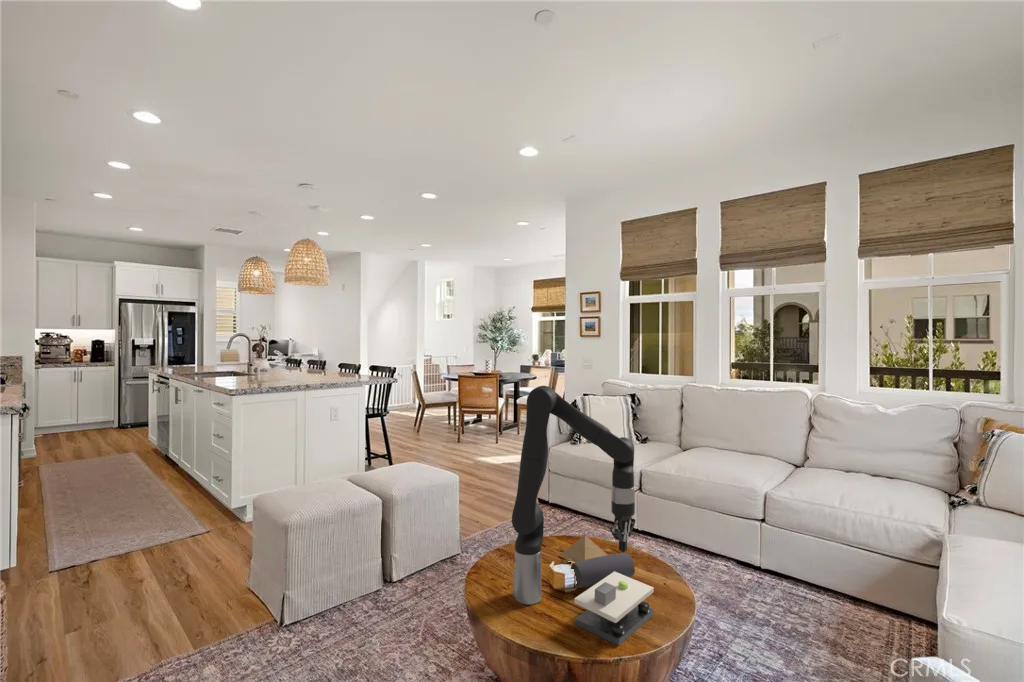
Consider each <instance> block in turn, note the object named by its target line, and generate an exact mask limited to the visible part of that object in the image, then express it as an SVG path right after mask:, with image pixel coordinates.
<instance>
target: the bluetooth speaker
mask: <svg viewBox="0 0 1024 682" xmlns="http://www.w3.org/2000/svg"><path fill="white" fill-rule="evenodd" d="M570 565H571V564H570ZM570 569H574V572H575V576H576V581H577V584H576V586H575V587H576V588H578V589H579V588H588V587H589V588H591V587H592V586H594V585H595V584H597V583H598V582H600V581H601V580H602V579H604V578H605V577H607V576H608V575H610V574H611V573H613V572H614V571H615V572H617V573H620V574H622V575H624V576H627V577H629V578H631V577H634V575H635V574H636V568H635V563H634V560H633V557H632V556H631V554H629V553H627V552H620V553H613V554H607V555H606V556H600V557H595V558H591V559H586V560H582V561H578V562H575V563H573V564H572V565H571V566H570Z"/></svg>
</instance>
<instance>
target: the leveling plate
mask: <svg viewBox="0 0 1024 682" xmlns="http://www.w3.org/2000/svg"><path fill="white" fill-rule="evenodd" d="M654 589H655V588H654V587H653V586H650V585H649V584H646V583H644V582H641V581H639V580H636V579H635V578H631V577H627V576H624V575H622V574H620V573H617V572H615V571H614V572H613V573H611V574H610V575H608V576H607V577H605V578H604V579H602V580H601V581H600V582H598V583H597V584H595V585H594V586H592V587H589V588H588V589H586V590H585V591H583V592H582V593H580V594H579V595H577V596H576V597H575V598H574V604H575V605H578V606H580V607H582V608H583V609H586V610H587V609H588V610H590V611H592V612H594V613H596V614H598V615H600V616H602V617H604V618H606V619H608V620H610V621H612V622H614V623H617V622H618V621H619V620H620V619H621V618H623V617H624V616H625V615H626V614H627V613H629V612H630V611H631V610H632V609H634V608H635V607H636V606H637V605H638V604H640V603H641V602H644V600H646V599H647V598H648V597H650V595H652V594H653V593H654Z"/></svg>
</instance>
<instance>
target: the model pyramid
mask: <svg viewBox="0 0 1024 682" xmlns="http://www.w3.org/2000/svg"><path fill="white" fill-rule="evenodd" d="M606 555H608V553H606V552H605V551H604V550H603V549H602V548H600V546H599V545H597V544H596V543H595V542H594V541H592V540H591V539H590V538H589V537H588V535H586V534H584V535H582V537H580V538H579V539H578V540H577V541H575V542H574V543H572V544H571V545H570V546H568V547H567V548H566V549H565V550H563V551H562V552H561V553H560V554H558V555H557V557H558V556H561V557H563V558H565V559H566V560H567V561H574V562H578V561H582V560H586V559H591V558H595V557H600V556H606ZM566 560H565V561H566ZM567 561H566V562H567Z"/></svg>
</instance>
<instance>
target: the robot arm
mask: <svg viewBox="0 0 1024 682" xmlns="http://www.w3.org/2000/svg"><path fill="white" fill-rule="evenodd" d="M550 415H553V416H555V417H556V418H559V419H560V420H562V421H563V422H564V423H566V424H567V425H568V426H569V427H570V428H571V429H572V430H574V432H575V433H577V435H580V436H581V437H582V438H584V439H585V440H587V441H588V442H590V443H591V444H593V445H595V446H597V447H598V448H599V449H601V450H602V451H603V452H604V453H605V454H606V455H608V456H609V457H610V458H612V459H613V469H612V473H611V474H612V478H611V479H612V480H611V481H612V482H611V484H612V486H611V487H612V488H611V497H610V498H611V502H610V503H611V509H610V510H611V511H610V512H611V513H612V514H613V515H614V521H613V524H614V525H613V527H612V526H610V528H609V532H610V533H611V535H612V536H613V538H614V540H616V541H618V551H619V552H620V553H626V552H627V550H628V540H629V537H631V536H632V534H633V530H634V527H635V523H636V519H635V518H633V516H634V515H635V514H636V513H635V511H636V510H635V507H636V503H635V501H636V497H635V495H636V494H635V475H634V465H635V464H634V463H635V460H634V459H635V444H634V443H633V441H632V440H631V439H630V438H628V437H623V436H621V437H619V436H617V435H615V434H614V433H612V432H611V430H610V429H609V428H608V427H606V426H605V425H604V424H602V423H600V422H599V421H597V420H596V419H594V418H592V417H591V416H589V415H587V414H585V413H584V412H583V411H581V410H579V409H578V408H576V407H575V406H573V405H572V404H571V403H569V402H568V401H567V400H565V398H563V397H562V396H561V395H560V394H559V393H558V392H556V391H555V390H554V389H553V388H552V387H550V386H547V385H540V386H539V385H538V386H537V387H534V388H533V389H532V390H531V391H530V392H529V393H528V395H527V397H526V419H525V420H526V424H525V431H524V436H523V441H522V447H521V454H520V461H519V463H520V464H519V471H518V472H519V473H518V480H517V481H518V482H517V490H516V497H515V502H514V505H513V509H512V514H511V525H512V527H513V529H514V530H515V532H516V533H517V536H516V539H515V542H514V569H513V570H512V597H513V598H515V600H516V602H517V603H519V604H522V605H534V604H537V603H539V602H541V600H542V544H543V542H544V527H545V526H544V523H545V522H544V521H545V520H544V513H543V509H542V508H541V506H540V504H538V503H537V499H538V496H539V495H538V494H539V492H540V489H541V487H542V484H543V481H544V478H545V476H546V472H547V467H548V458H549V444H548V424H549V419H550Z"/></svg>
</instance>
